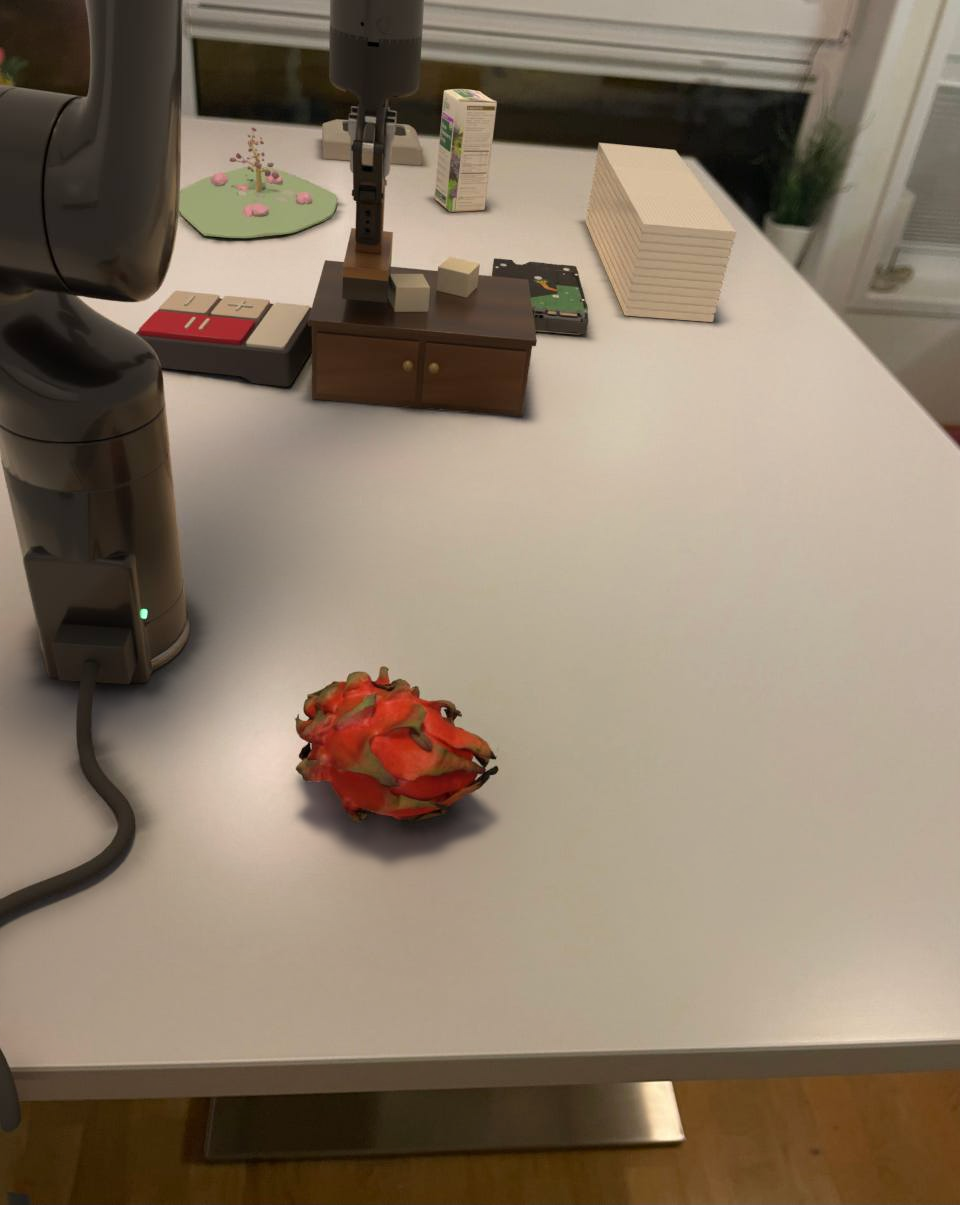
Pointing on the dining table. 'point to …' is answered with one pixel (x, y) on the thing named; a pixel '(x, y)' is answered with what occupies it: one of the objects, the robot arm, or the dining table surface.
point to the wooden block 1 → (408, 292)
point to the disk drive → (550, 294)
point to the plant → (255, 201)
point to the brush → (368, 265)
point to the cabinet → (424, 346)
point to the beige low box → (340, 143)
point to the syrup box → (464, 150)
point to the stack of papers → (657, 233)
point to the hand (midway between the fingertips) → (368, 236)
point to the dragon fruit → (389, 748)
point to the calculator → (230, 336)
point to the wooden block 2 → (457, 277)
